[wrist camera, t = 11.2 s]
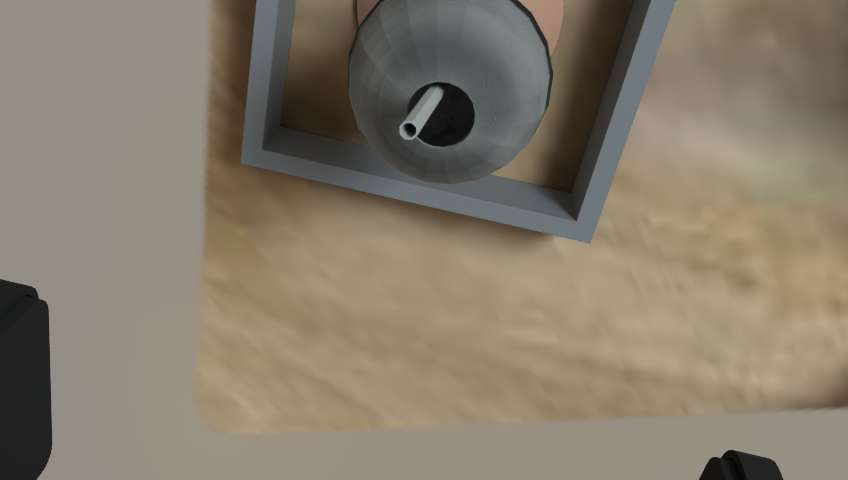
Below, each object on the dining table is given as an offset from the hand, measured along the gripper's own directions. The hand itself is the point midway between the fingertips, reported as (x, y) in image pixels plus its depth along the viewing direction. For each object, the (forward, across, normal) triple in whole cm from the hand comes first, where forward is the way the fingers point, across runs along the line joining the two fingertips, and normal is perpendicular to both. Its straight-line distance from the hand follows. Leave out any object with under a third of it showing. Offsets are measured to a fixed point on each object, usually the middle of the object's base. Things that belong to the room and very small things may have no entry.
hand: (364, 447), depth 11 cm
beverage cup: (+30, 0, 0) cm, 30 cm away
